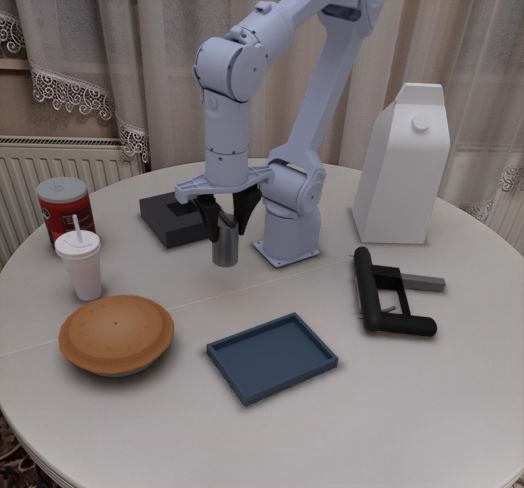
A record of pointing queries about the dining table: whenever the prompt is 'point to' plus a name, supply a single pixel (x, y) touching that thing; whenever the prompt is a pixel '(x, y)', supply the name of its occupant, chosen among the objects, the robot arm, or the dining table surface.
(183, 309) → the dining table surface
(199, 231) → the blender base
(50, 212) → the canned food
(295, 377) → the tray
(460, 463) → the dining table surface
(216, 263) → the dark grey canister
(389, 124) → the milk
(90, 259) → the smoothie
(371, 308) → the door handle
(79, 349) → the pie
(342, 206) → the dining table surface
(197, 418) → the dining table surface
